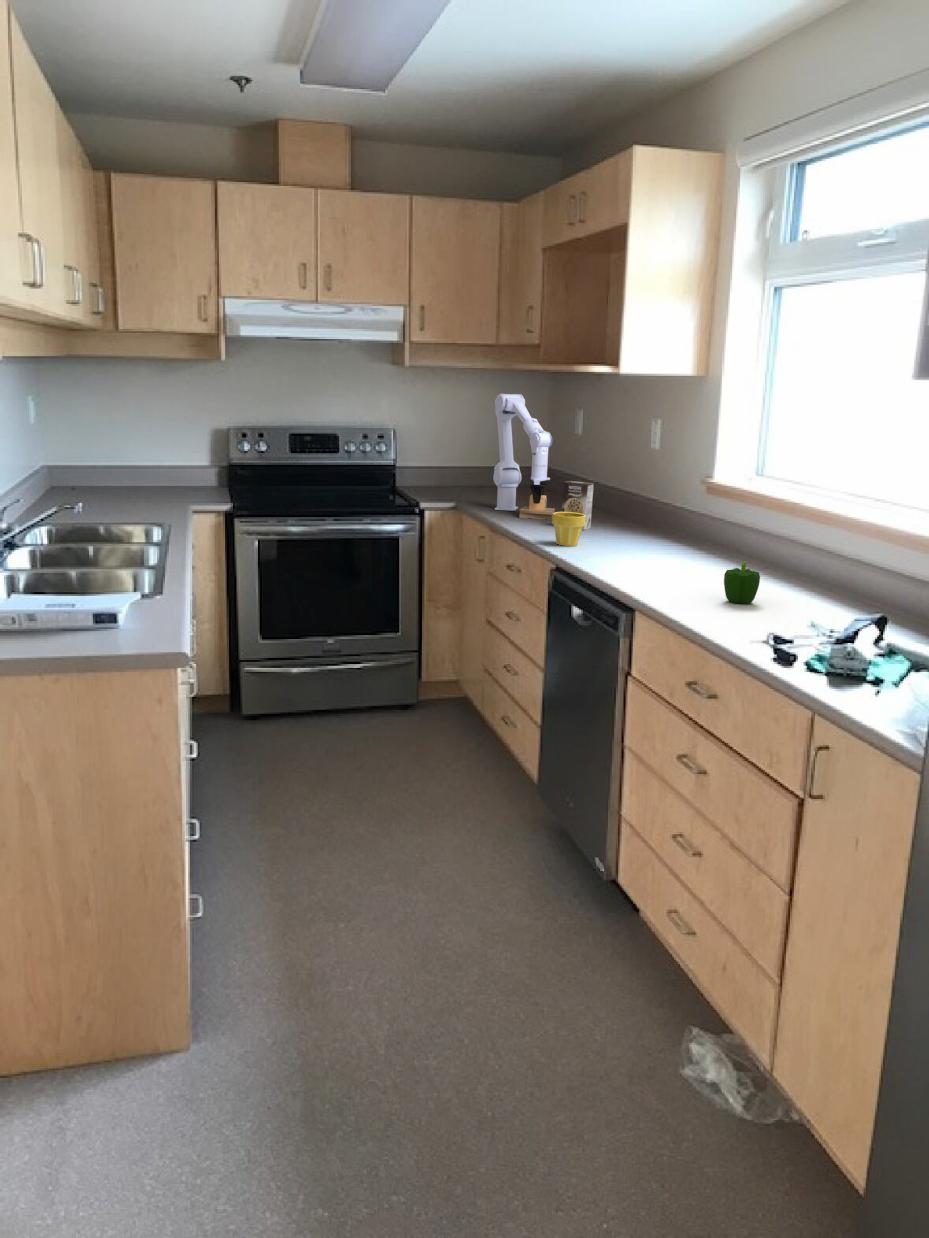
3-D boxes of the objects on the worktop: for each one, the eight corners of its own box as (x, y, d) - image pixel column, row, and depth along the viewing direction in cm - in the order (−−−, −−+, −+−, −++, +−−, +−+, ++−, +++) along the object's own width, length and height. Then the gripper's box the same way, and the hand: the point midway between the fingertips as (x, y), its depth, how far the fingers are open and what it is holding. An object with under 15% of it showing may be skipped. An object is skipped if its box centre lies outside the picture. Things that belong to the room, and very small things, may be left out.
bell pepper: (747, 607, 239) (752, 566, 237) (716, 601, 245) (720, 561, 242) (763, 602, 245) (767, 562, 243) (732, 596, 251) (736, 557, 248)
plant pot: (587, 547, 313) (589, 516, 311) (555, 547, 311) (557, 516, 309) (578, 541, 323) (580, 511, 320) (547, 541, 321) (549, 511, 319)
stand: (522, 514, 379) (523, 506, 378) (554, 516, 377) (554, 508, 376) (519, 518, 369) (519, 510, 369) (551, 520, 367) (552, 511, 367)
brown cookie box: (560, 527, 351) (562, 481, 347) (567, 525, 356) (569, 480, 352) (584, 530, 347) (587, 483, 343) (591, 528, 352) (594, 482, 348)
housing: (529, 509, 371) (529, 496, 370) (530, 508, 375) (531, 494, 374) (545, 510, 370) (545, 497, 369) (546, 509, 374) (547, 495, 373)
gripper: (548, 467, 361) (546, 505, 364) (552, 464, 375) (550, 500, 378) (529, 466, 362) (527, 504, 365) (533, 463, 376) (531, 499, 379)
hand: (537, 502), depth 372 cm, fingers open, 7 cm apart
